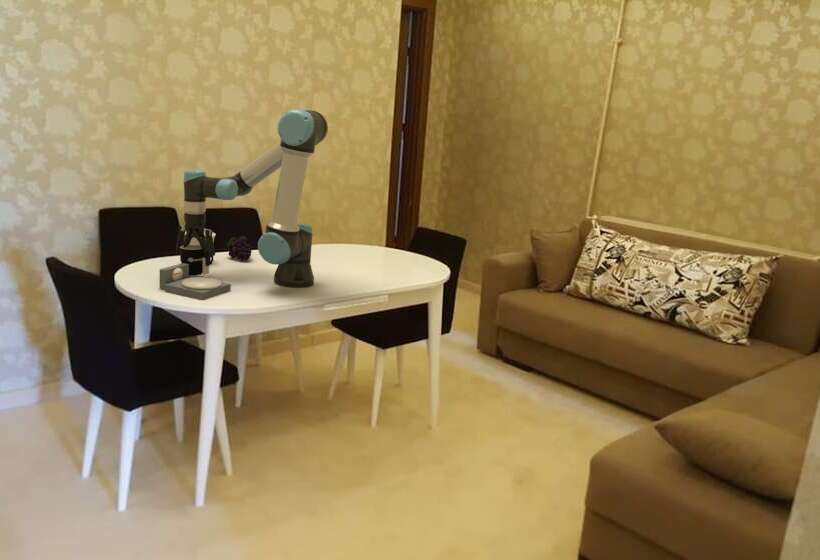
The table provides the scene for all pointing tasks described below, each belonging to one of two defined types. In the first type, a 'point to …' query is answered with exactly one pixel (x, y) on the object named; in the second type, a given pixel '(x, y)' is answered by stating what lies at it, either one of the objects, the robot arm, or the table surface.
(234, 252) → the fruit
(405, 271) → the table surface
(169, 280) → the scale
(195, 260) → the mug
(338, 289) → the table surface
